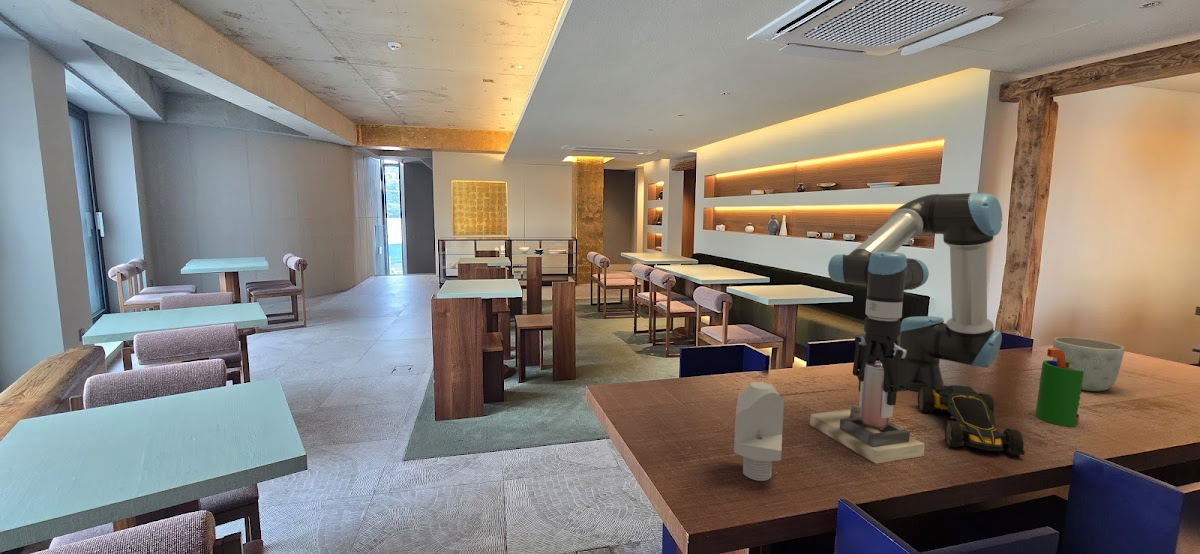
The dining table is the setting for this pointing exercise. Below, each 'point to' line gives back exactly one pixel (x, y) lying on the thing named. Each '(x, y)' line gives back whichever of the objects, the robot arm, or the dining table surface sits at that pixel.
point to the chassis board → (867, 436)
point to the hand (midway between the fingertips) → (875, 411)
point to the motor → (1059, 391)
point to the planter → (1092, 360)
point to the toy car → (970, 419)
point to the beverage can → (873, 396)
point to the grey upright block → (759, 429)
